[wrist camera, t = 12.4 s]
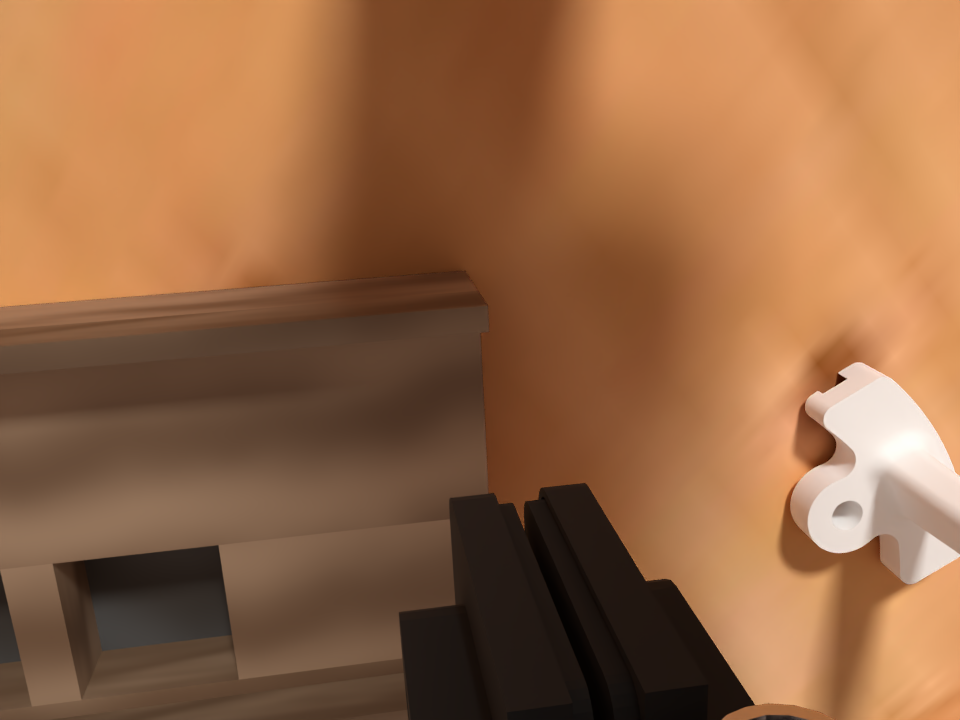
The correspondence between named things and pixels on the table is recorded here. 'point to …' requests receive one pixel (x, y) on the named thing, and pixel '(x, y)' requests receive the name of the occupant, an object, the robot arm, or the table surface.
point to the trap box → (232, 496)
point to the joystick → (880, 478)
